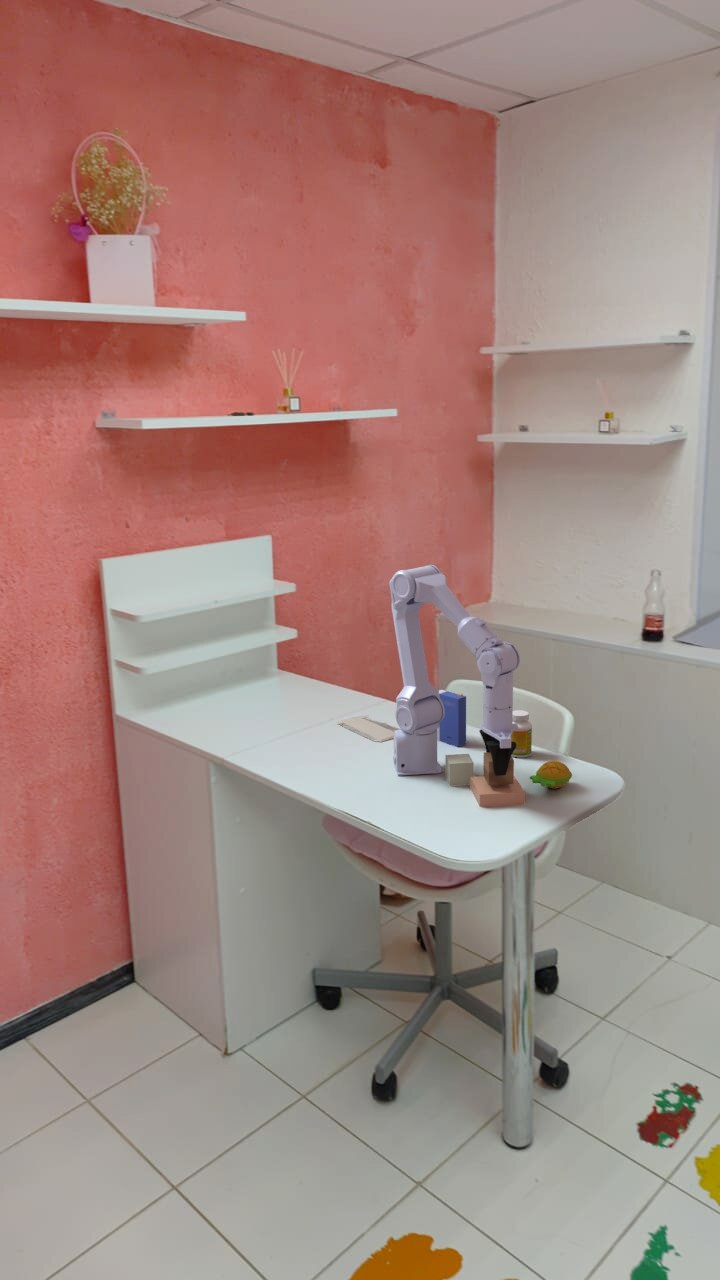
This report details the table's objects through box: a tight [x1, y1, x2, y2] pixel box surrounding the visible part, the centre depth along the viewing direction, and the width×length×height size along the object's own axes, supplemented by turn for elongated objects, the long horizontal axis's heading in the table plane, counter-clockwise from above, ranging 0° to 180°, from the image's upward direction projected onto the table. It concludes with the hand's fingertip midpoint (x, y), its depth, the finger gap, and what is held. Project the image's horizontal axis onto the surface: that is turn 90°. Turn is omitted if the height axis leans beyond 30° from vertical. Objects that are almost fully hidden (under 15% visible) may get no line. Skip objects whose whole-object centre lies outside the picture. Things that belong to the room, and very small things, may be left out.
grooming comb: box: [336, 714, 401, 743], centre depth 235 cm, size 18×10×1 cm, turn 36°
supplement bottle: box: [511, 709, 533, 759], centre depth 215 cm, size 5×5×10 cm
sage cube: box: [444, 753, 474, 787], centre depth 202 cm, size 5×5×5 cm
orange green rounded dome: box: [529, 760, 573, 789], centre depth 196 cm, size 7×10×5 cm
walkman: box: [437, 689, 467, 748], centre depth 223 cm, size 8×3×12 cm, turn 43°
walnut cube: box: [482, 751, 515, 785], centre depth 192 cm, size 5×5×5 cm
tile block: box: [469, 775, 526, 808], centre depth 194 cm, size 9×9×3 cm
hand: (497, 769), depth 193 cm, fingers closed on walnut cube, 5 cm apart
